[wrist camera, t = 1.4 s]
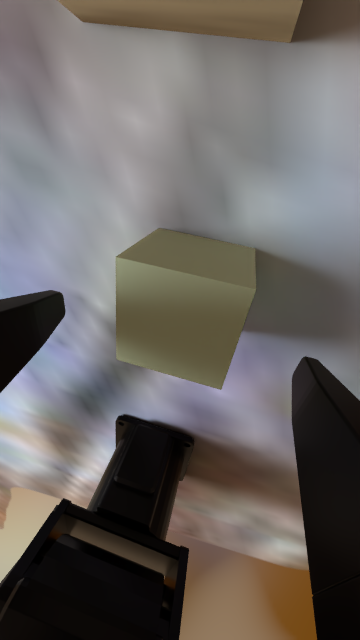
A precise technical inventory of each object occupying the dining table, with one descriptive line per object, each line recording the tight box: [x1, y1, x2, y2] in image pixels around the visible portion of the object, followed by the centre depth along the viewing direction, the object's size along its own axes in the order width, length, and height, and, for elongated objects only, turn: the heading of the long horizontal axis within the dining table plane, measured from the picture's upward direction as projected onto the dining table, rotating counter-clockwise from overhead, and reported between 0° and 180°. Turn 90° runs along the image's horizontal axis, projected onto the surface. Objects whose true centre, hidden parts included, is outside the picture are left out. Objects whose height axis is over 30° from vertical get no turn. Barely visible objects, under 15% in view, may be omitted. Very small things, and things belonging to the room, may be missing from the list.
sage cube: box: [116, 228, 256, 390], centre depth 11 cm, size 4×4×4 cm
